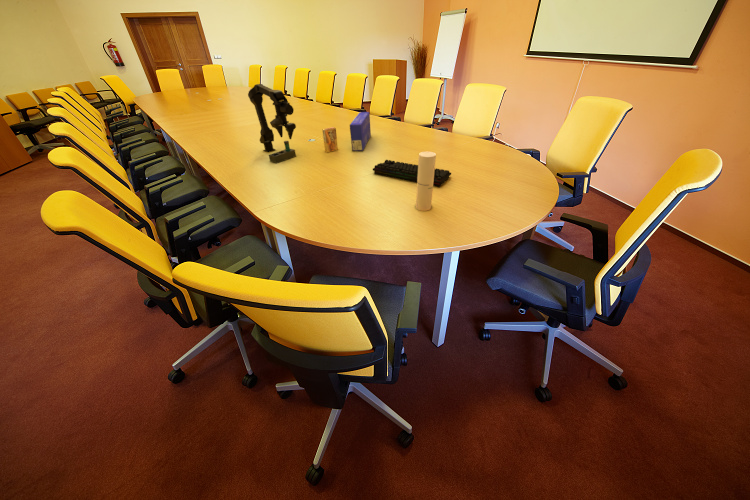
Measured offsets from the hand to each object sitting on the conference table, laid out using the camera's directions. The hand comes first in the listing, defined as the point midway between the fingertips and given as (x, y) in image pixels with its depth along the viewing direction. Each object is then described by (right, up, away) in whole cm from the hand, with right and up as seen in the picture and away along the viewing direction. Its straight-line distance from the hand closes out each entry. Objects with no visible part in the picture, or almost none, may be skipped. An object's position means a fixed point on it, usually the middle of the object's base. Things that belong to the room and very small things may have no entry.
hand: (286, 138), depth 194 cm
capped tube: (0, -10, +8) cm, 13 cm away
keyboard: (+81, -32, -27) cm, 91 cm away
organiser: (-3, -13, +4) cm, 14 cm away
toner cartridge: (+50, +6, +27) cm, 57 cm away
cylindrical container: (+83, -55, -57) cm, 115 cm away
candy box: (+28, -3, +16) cm, 33 cm away
